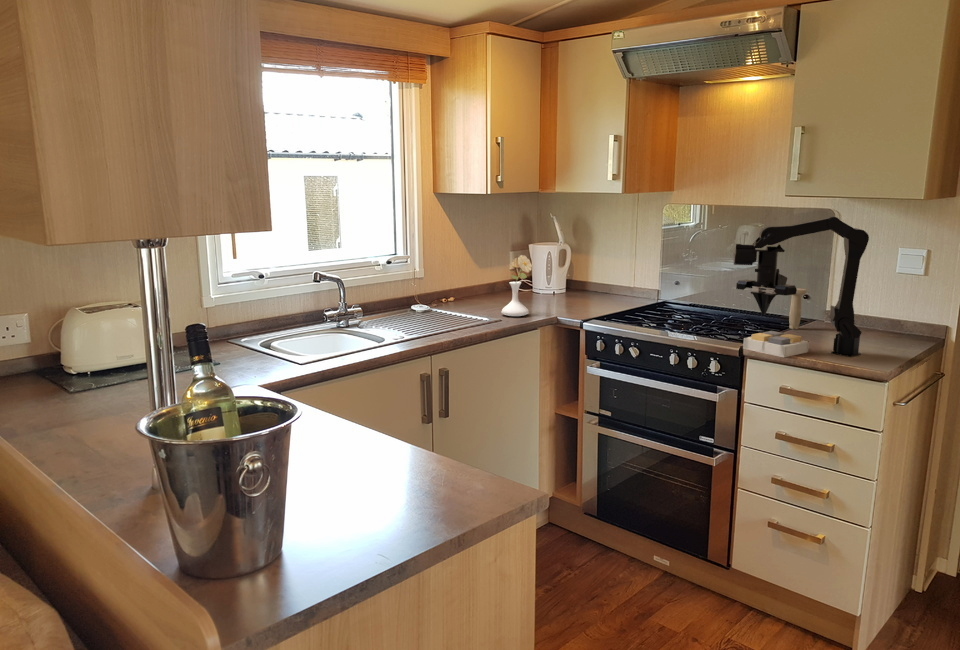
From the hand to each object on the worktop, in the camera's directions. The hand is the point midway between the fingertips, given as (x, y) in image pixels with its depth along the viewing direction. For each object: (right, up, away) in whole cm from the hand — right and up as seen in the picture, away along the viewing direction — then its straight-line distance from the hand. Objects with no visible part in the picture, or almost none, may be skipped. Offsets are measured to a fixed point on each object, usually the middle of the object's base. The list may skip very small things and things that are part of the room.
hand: (763, 313), depth 238 cm
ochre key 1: (0, -10, +2) cm, 10 cm away
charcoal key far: (+5, -9, +5) cm, 12 cm away
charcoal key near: (+4, -11, -3) cm, 12 cm away
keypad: (+4, -12, +1) cm, 13 cm away
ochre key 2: (+8, -10, 0) cm, 13 cm away
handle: (+25, -5, +37) cm, 45 cm away
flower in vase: (-77, 0, +65) cm, 101 cm away
